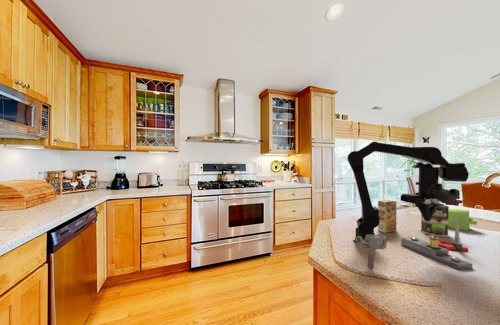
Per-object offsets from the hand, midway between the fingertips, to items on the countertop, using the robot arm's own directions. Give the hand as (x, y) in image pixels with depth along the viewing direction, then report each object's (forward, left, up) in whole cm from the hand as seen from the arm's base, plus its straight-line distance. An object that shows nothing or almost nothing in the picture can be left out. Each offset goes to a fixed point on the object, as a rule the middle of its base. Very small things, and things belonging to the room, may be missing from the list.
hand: (427, 221), depth 78 cm
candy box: (+7, +25, -13) cm, 29 cm away
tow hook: (+17, +5, -13) cm, 21 cm away
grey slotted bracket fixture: (+1, -2, -12) cm, 12 cm away
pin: (+1, -2, -12) cm, 12 cm away
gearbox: (+50, +27, -13) cm, 58 cm away
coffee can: (+28, +19, -13) cm, 36 cm away
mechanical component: (-29, -7, -12) cm, 33 cm away
